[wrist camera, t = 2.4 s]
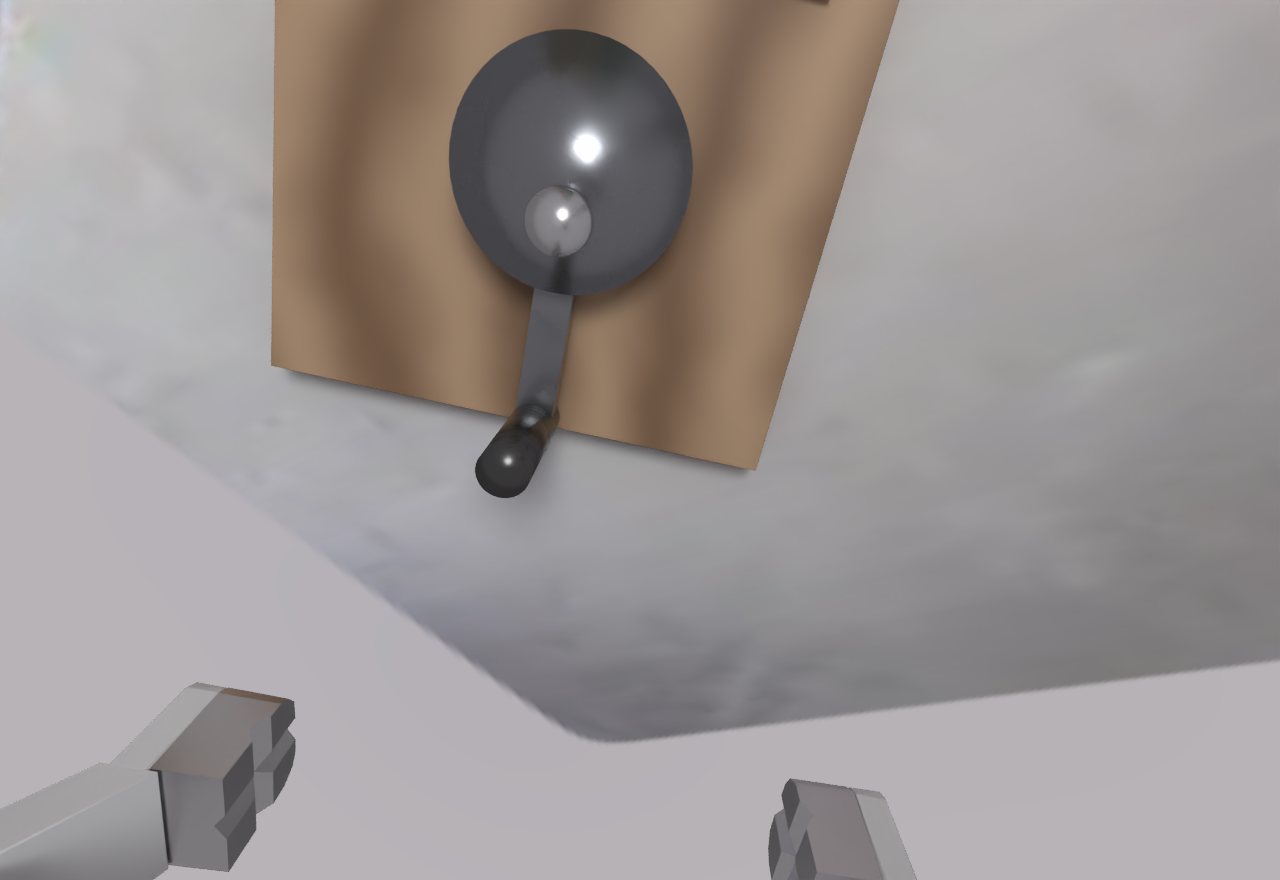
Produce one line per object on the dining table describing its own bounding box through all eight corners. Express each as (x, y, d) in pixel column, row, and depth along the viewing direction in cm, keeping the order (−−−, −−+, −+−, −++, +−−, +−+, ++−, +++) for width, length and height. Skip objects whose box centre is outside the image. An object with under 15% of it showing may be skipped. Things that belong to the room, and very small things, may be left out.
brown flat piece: (925, -130, 24) (973, -192, 20) (750, 455, 32) (761, 488, 28) (310, -285, 23) (240, -382, 19) (295, 355, 31) (244, 376, 27)
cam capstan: (482, 20, 24) (416, -46, 18) (715, 75, 24) (732, 30, 18) (439, 414, 29) (377, 471, 23) (629, 455, 30) (618, 522, 24)
